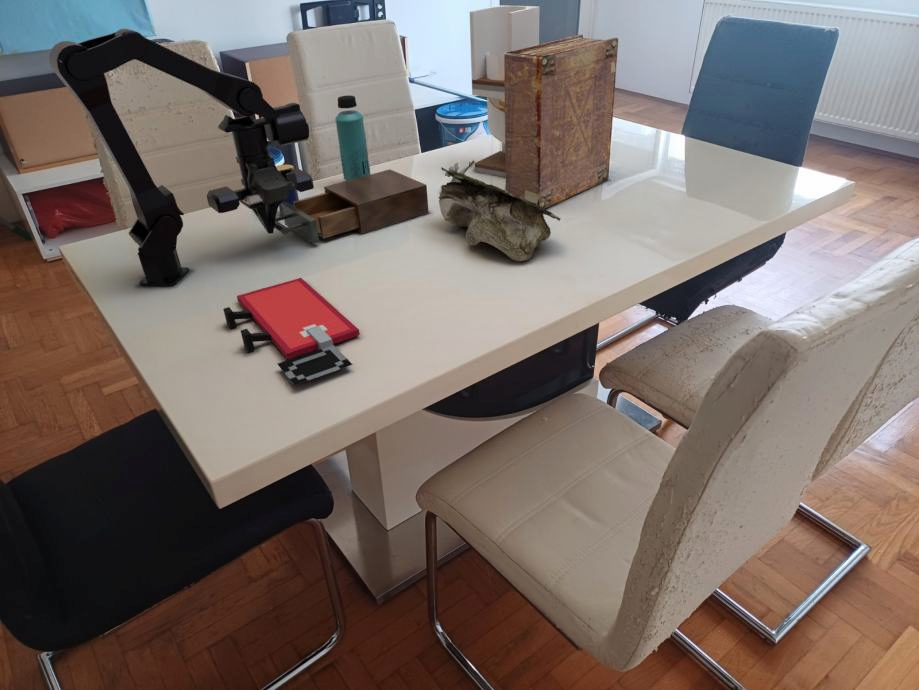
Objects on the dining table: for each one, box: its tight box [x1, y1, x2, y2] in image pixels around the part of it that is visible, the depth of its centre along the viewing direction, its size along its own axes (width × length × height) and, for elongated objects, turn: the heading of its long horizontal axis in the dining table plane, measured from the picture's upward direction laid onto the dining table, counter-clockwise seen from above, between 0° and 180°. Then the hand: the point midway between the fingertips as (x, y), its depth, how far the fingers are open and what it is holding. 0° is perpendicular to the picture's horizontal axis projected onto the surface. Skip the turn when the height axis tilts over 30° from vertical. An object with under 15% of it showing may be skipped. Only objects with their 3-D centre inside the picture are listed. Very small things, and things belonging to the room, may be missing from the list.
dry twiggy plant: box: [444, 159, 476, 182], centre depth 150 cm, size 10×6×9 cm
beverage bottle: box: [334, 94, 372, 181], centre depth 154 cm, size 6×7×20 cm
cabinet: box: [323, 169, 430, 235], centre depth 141 cm, size 16×14×6 cm
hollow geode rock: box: [438, 166, 562, 262], centre depth 125 cm, size 28×13×15 cm
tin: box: [275, 164, 300, 217], centre depth 142 cm, size 5×5×10 cm
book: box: [504, 34, 619, 210], centre depth 141 cm, size 25×9×30 cm, turn 136°
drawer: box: [274, 192, 360, 244], centre depth 135 cm, size 20×13×5 cm, turn 127°
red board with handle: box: [223, 277, 361, 386], centre depth 102 cm, size 30×3×15 cm
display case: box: [469, 4, 541, 178], centre depth 155 cm, size 11×11×35 cm
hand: (270, 233), depth 129 cm, fingers closed
